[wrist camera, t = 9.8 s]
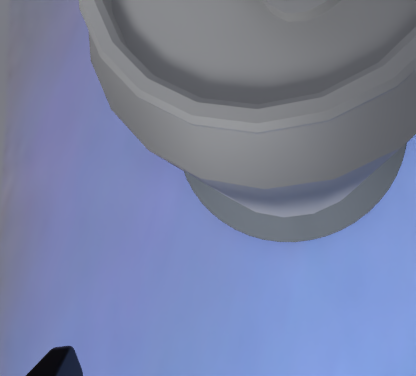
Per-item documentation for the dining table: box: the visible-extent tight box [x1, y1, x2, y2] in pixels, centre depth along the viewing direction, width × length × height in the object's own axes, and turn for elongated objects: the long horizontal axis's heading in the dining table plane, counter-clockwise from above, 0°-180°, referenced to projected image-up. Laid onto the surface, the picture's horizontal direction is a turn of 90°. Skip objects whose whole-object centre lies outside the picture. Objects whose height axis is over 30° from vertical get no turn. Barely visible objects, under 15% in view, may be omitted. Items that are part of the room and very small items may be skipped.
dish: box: [184, 144, 406, 242], centre depth 18 cm, size 10×10×1 cm
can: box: [79, 0, 416, 217], centre depth 11 cm, size 8×8×12 cm
